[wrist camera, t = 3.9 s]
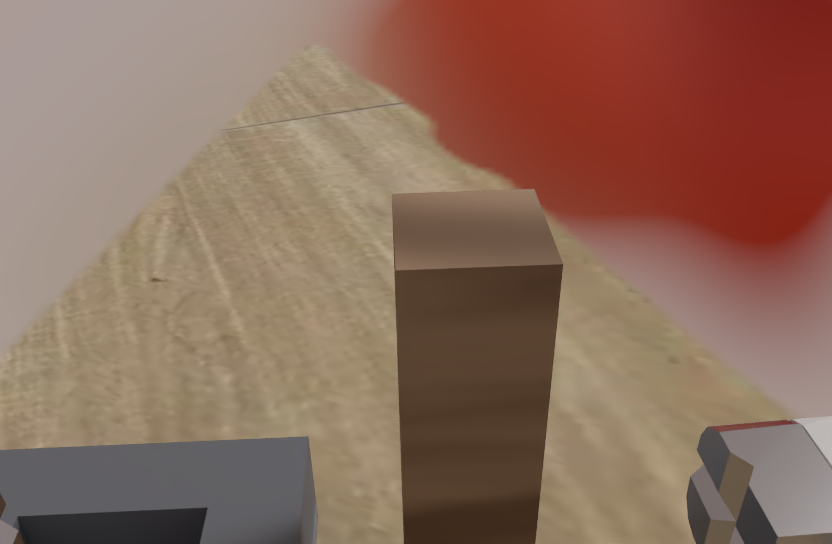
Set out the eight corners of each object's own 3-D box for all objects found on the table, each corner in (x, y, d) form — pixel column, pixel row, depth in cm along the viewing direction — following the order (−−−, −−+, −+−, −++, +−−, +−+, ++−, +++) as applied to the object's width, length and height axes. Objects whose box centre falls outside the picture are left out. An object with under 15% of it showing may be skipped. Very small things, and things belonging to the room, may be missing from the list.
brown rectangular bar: (523, 655, 28) (563, 264, 19) (408, 661, 27) (395, 270, 19) (507, 558, 31) (534, 189, 22) (404, 563, 31) (391, 193, 22)
